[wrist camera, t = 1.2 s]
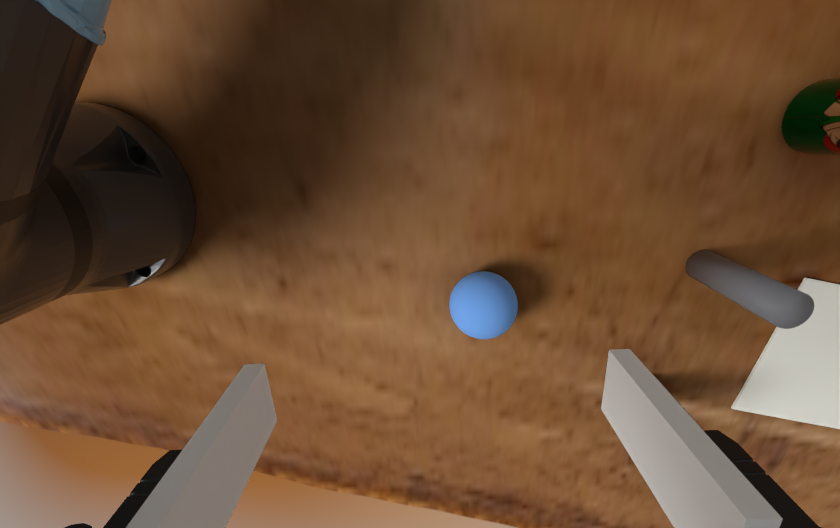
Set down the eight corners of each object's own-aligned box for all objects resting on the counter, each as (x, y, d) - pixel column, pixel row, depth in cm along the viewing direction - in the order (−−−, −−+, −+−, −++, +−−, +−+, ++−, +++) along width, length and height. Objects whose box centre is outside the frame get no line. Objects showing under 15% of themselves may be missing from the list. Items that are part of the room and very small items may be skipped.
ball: (442, 313, 36) (444, 345, 31) (455, 256, 34) (460, 280, 29) (501, 324, 36) (513, 358, 31) (518, 268, 34) (533, 294, 29)
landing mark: (730, 407, 38) (732, 408, 38) (804, 277, 34) (806, 278, 33) (865, 432, 39) (867, 434, 38) (956, 307, 34) (959, 308, 34)
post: (680, 275, 34) (763, 324, 25) (693, 247, 33) (783, 288, 25) (709, 280, 34) (801, 332, 25) (722, 253, 33) (822, 296, 25)
